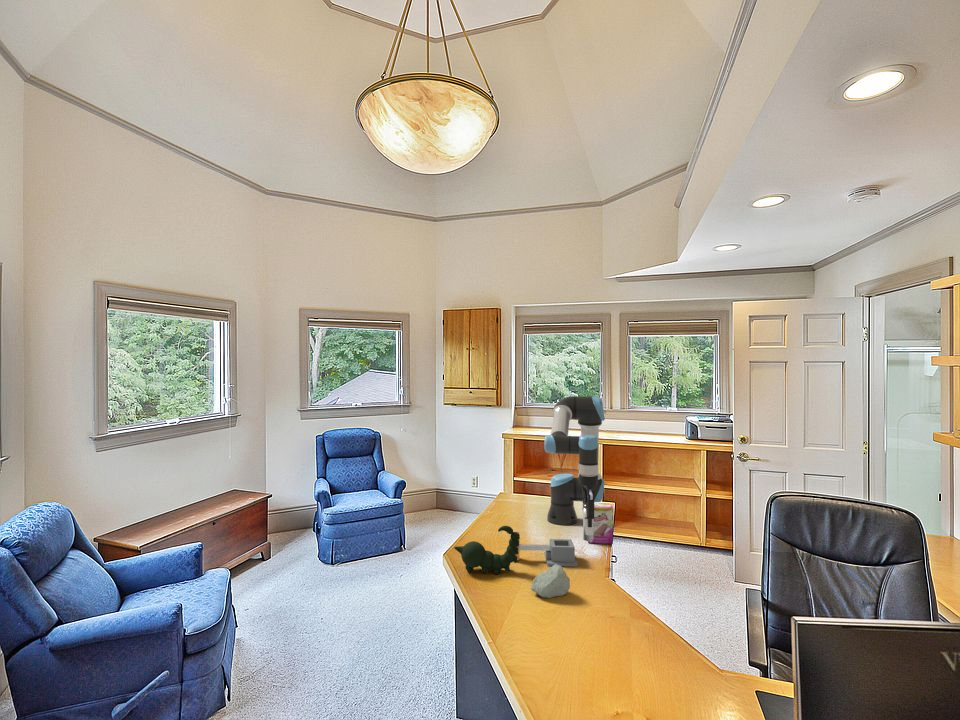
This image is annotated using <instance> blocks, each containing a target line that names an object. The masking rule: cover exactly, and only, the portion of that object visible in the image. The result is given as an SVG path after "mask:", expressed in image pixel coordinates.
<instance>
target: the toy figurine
mask: <svg viewBox="0 0 960 720" xmlns="http://www.w3.org/2000/svg"><path fill="white" fill-rule="evenodd" d="M497 531H498V533H500V532H502V531H503V532H506V533H507V534H508V535H510V536H509V537H510V539H508V545H507V547H506V550H505V552H504V554H499V553H493V551H491V550H486V549H485V547H484V546H483V544H482V543H480V542H479V541H476V540H475V541H469V542H467V543H465V544H464V545H463V546H459V545H458V546H454V547H453V549H455V550H456V551H457V552H458V553H459V554H460V556H461V560H462V563H464V565H465V570H466V572H472V571H473V570H474V568H479V567H480V568H481V572H482V573H483V574H487V573H488V572H489V570H492V571H493V573H494V575H498V574H500V573H499V572H500V571H502V570H503V569H504V571H505V572H508V573H509V572H510V570H511V569H510V566H511V563H514V564H517V563H518V561H519V560H517V558H518V557H517V556H516V554H518V553H519V554H520V551H519V552H518V546H519V544H520V539H521V538H520V537H521V535H520V533H519V534H518V533H517V532H518V531H514V529H513V528H512V527H511V526H509V525H502V526H500V527H499V528H498V530H497Z"/></svg>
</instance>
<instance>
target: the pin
mask: <svg viewBox="0 0 960 720" xmlns="http://www.w3.org/2000/svg"><path fill="white" fill-rule="evenodd" d="M516 532H517V533H518V534H519V535H520V531H516ZM520 551H530V552H531V551H532V552H533V551H534V552H535V551H537V552H538V551H539V552H541V551H543V552H545V551H551V545H550V544H534V543H533V544H530V543H529V544H525V543H524V544H523V543H522V544H520V543H519V546H518V552H519V553H518V554H516V556H517V557H518V558H517V560H518V561H520Z"/></svg>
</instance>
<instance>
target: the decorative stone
mask: <svg viewBox="0 0 960 720" xmlns="http://www.w3.org/2000/svg"><path fill="white" fill-rule="evenodd" d="M570 581H571V580H570V577H569V576H568V575H567V573H566V571H565V570H564V568H563V566H560V565H557V564H555V565H553V566H550V567H549V568H548V569H546V570H545V571H542V572H540V573H539V574H537V576H535V578H533V580H532V582H531V585H530V589H531V591H532V592H534V593H535V594H537V595H538V596H540V597H541V598H548V599H551V598H555V597H562V596H565V595H567V593H568V591H569V590H570V588H571V585H570Z"/></svg>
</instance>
